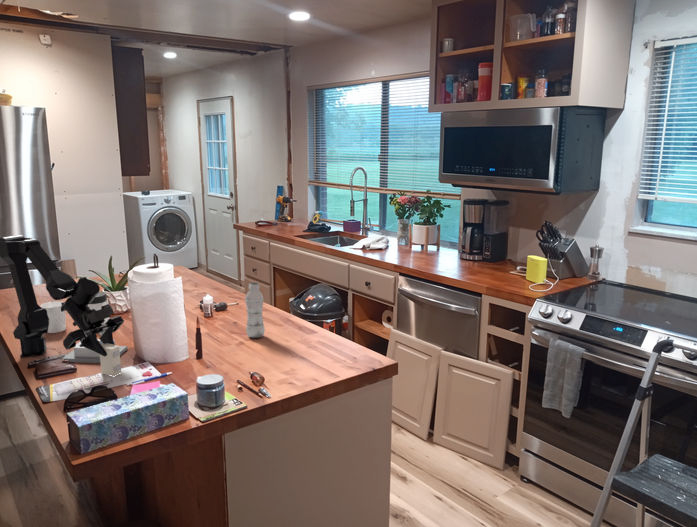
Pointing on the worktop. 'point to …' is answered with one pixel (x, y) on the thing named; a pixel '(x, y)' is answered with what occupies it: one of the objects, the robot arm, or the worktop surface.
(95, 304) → the jar
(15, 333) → the robot arm
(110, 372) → the cream rectangular block
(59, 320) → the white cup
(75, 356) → the hinge base
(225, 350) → the worktop surface
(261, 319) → the plastic bottle
